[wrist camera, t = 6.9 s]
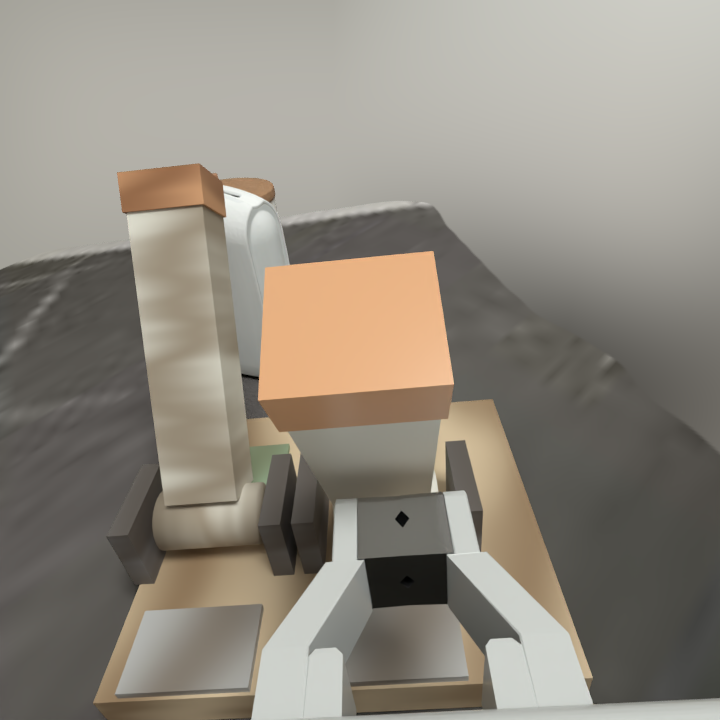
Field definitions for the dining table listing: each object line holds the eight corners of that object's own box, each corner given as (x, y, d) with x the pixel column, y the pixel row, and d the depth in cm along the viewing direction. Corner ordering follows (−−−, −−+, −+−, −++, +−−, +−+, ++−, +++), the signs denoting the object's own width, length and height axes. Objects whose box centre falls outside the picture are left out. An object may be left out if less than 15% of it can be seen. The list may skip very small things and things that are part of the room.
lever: (341, 545, 21) (225, 403, 8) (339, 482, 22) (237, 270, 9) (439, 539, 20) (487, 381, 8) (432, 476, 22) (462, 247, 9)
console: (105, 724, 17) (-235, 335, 9) (207, 444, 29) (104, 160, 20) (585, 701, 16) (728, 243, 8) (491, 421, 28) (507, 115, 20)
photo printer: (168, 362, 37) (105, 193, 30) (207, 334, 40) (157, 174, 33) (284, 389, 33) (239, 198, 26) (317, 355, 36) (285, 176, 29)
